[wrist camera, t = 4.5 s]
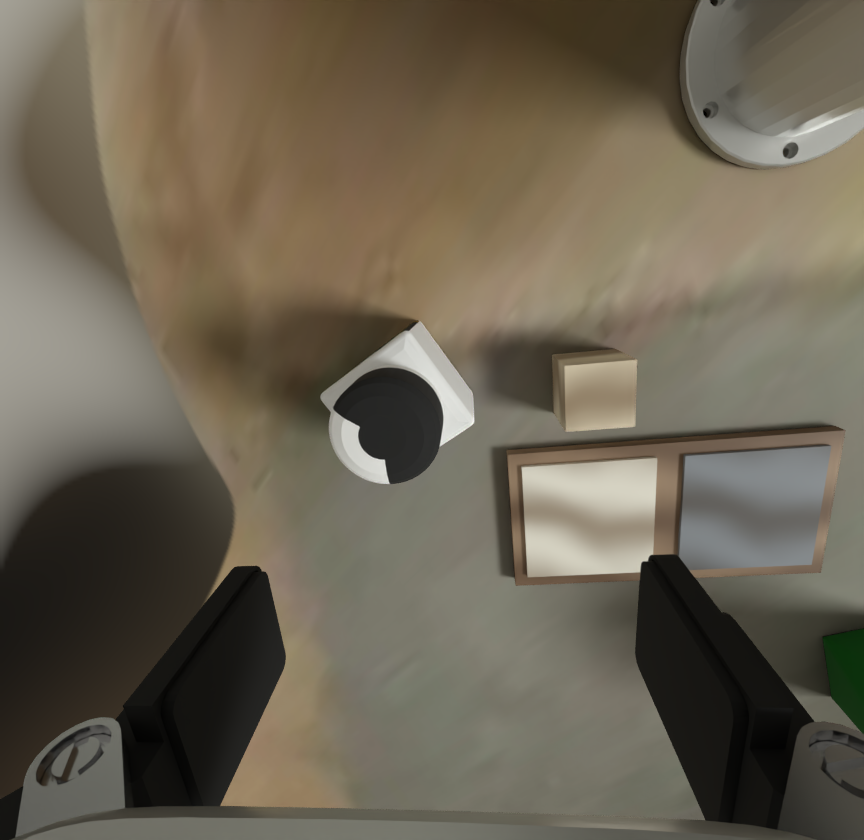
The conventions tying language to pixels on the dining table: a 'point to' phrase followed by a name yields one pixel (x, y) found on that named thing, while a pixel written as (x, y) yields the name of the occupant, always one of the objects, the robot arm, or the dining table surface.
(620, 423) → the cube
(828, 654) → the fresh milk carton
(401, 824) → the robot arm
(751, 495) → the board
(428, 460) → the medicine bottle
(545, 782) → the dining table surface
